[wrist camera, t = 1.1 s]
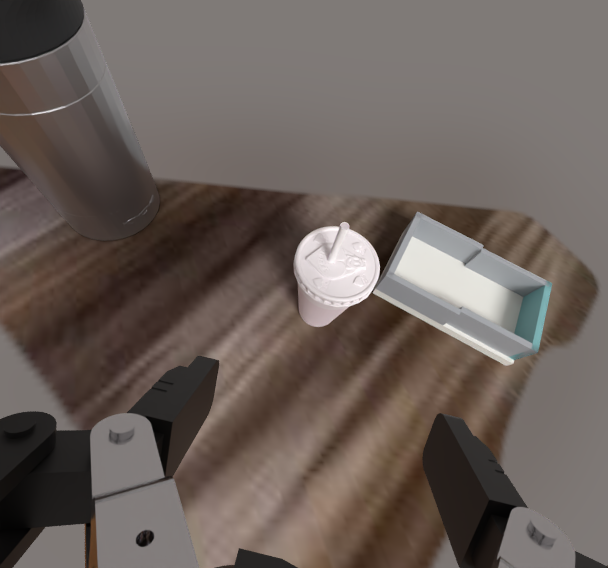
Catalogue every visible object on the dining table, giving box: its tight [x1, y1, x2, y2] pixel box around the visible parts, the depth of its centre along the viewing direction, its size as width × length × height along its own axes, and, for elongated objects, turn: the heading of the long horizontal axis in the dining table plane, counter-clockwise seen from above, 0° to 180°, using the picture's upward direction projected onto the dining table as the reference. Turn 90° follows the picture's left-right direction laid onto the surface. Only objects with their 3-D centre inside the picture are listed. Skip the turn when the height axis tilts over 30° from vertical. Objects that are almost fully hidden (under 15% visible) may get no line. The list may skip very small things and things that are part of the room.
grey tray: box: [373, 212, 552, 366], centre depth 33 cm, size 15×9×4 cm, turn 61°
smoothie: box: [293, 222, 380, 327], centre depth 26 cm, size 6×6×14 cm
